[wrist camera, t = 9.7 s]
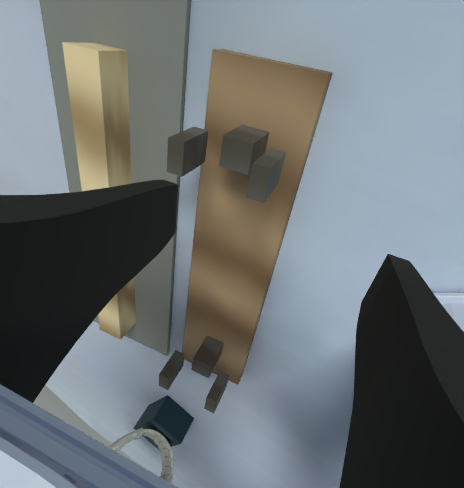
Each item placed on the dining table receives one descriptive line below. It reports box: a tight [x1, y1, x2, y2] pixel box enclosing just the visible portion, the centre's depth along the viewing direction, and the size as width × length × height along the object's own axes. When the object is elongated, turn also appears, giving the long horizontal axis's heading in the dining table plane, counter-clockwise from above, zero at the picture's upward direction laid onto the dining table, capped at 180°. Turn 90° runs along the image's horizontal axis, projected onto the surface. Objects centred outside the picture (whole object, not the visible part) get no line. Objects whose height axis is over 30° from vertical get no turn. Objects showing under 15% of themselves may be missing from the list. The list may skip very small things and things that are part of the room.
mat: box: [39, 0, 191, 356], centre depth 26 cm, size 30×10×1 cm, turn 171°
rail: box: [62, 42, 136, 339], centre depth 25 cm, size 24×2×2 cm, turn 171°
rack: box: [159, 49, 332, 413], centre depth 21 cm, size 26×6×6 cm, turn 171°
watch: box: [109, 395, 194, 483], centre depth 36 cm, size 6×8×11 cm
